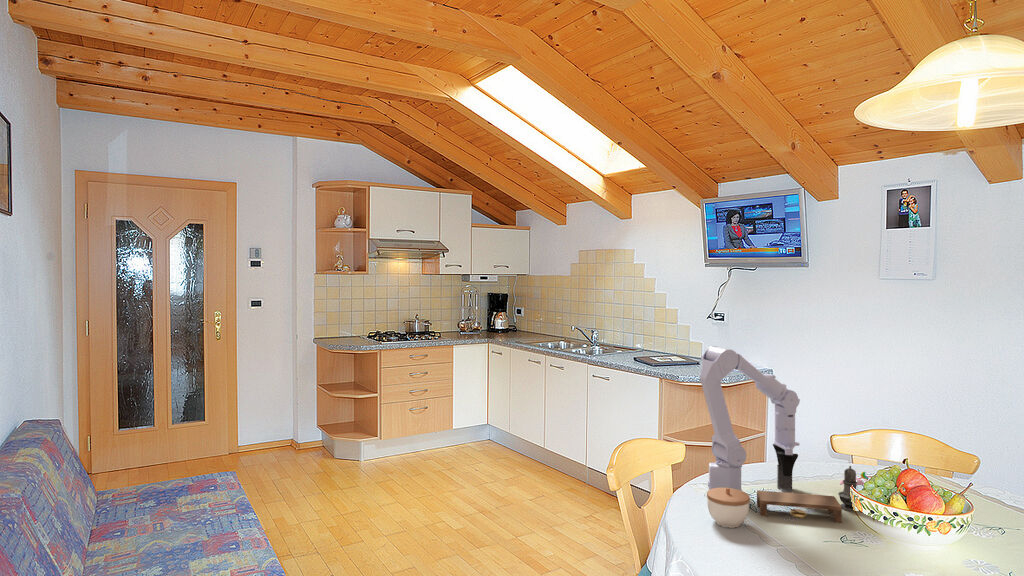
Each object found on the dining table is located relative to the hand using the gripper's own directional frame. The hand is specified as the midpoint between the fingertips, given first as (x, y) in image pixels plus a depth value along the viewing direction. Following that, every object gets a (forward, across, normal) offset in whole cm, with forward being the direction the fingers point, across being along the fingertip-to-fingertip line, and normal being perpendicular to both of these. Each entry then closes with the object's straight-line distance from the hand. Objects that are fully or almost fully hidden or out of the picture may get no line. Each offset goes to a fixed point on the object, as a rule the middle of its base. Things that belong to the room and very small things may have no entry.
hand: (785, 471), depth 189 cm
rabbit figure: (+6, +3, -22) cm, 22 cm away
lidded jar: (+5, -32, +19) cm, 37 cm away
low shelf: (+5, -20, 0) cm, 21 cm away
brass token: (+5, -22, 0) cm, 22 cm away
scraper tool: (+5, -7, 0) cm, 9 cm away
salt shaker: (+5, -13, -15) cm, 20 cm away
